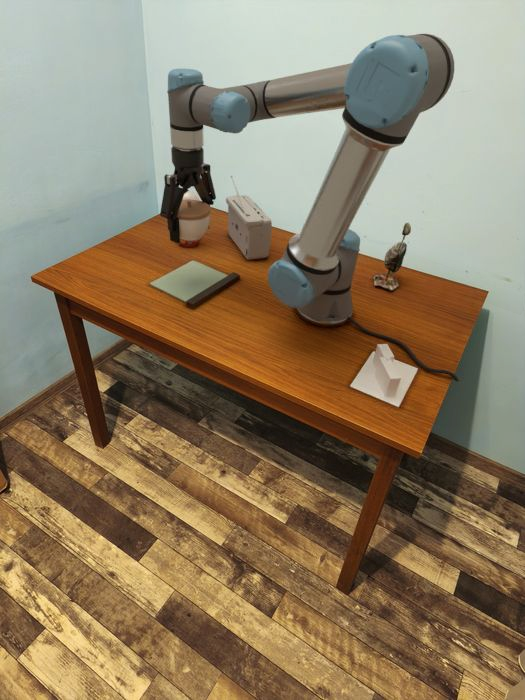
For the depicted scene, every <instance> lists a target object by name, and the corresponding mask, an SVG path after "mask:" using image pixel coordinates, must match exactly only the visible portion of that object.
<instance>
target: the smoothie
mask: <svg viewBox="0 0 525 700" xmlns="http://www.w3.org/2000/svg"><path fill="white" fill-rule="evenodd" d="M186 199H191V200H199V201H201V199H200V197H199V195H198V193H197V192H195V191H194V190H191V189H188V190H187V192H186V193H185V194H184V196H183V199H182V200H186ZM200 239H201V238H200ZM200 239H198V240H195V241H187V240H183V239H181V238H180V243H179V244H180V245H181V246H182V247H185V248H193V247H196V246H197V245H198V244H199V242H200Z"/></svg>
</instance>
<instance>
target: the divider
mask: <svg viewBox="0 0 525 700" xmlns="http://www.w3.org/2000/svg"><path fill="white" fill-rule="evenodd" d="M227 275H228V276H226V277H225V278H223V279H221V280H220V281H218V282H216V283H215V284H213V285H212V286H210V287H208V288H207V289H205V290H203V291H202V292H200V293H198V294H197V295H195V296H194V297H192V298H190V299H189V300H187V301H186V303H185V305H186V307H188V308H190V309H192V310H194V309H196V308H197V307H199V306H201V305H202V304H204V303H205V302H207V301H209V300H210V299H212V298H213V297H215V296H216V295H218V294H219V293H221V292H223V291H224V290H225V289H227V288H229V287H230V286H232V285H234V284H236V283H237V282H238V281H240V280H241V275H240V274H239V273H237V272H235V271H233V272H231V273H229V274H227Z"/></svg>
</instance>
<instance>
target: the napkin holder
mask: <svg viewBox="0 0 525 700" xmlns="http://www.w3.org/2000/svg"><path fill="white" fill-rule="evenodd" d="M393 353H394V352H393V351H392V349H391V348H390V346H389V344H388V343H378V344H377V345H376V349H375V351H374V350H372V352H371V354H370V355H369V356H368V358H367V359H366V361H365V363H364V365H363V366H362V367H361V369H360V370H359V372H358V373H357V375H356V376H355V378H354V379H353V381H352V382H351V384H350V385H349V387H350V388H352V389H355V390H357V391H360V392H362V393H365V394H367V395H369V396H371V397H373V398H376V399H378V400H381V401H383V402H385V403H387V404H390V405H392V406H395V407H397V408H399V407H400V405H401V403H402V402H403V400H404V397H405V396H406V394H407V392H408V390H409V388H410V386H411V384H412V383H413V380H414V378H415V376H416V374H417V373H418V370H419V368H418V367H416V366H413V365H410V364H407V363H405V362H402V361H400V360H398V359H395V355H394V354H393Z"/></svg>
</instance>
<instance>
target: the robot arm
mask: <svg viewBox="0 0 525 700" xmlns="http://www.w3.org/2000/svg"><path fill="white" fill-rule="evenodd" d="M454 75H455V60H454V55H453V52H452V49H451V47H449V45H448V43H446V42H445V40H444V39H442V38H441V37H439V36H436V35H435V34H430V33H418V34H410V35H405V34H394V35H393V34H392V35H388V36H387V35H386V36H385V37H382V38H380V39H377V40H375V41H373V42H371V43H369V44H368V45H366V46H365V47H364V48H363V49H362V50H361V51H360V52H359V53H358V54H357V55H356V56H355V58H354V59H353V61H352V62H350V63H346V64H341V65H336V66H332V67H326V68H321V69H316V70H312V71H307V72H303V73H302V72H301V73H298V74H293V75H288V76H282V77H278V78H274V79H273V78H272V79H268V80H262V81H257V82H253V83H248V84H243V85H235V86H230V87H229V86H228V87H224V88H218V87H213V86H208V85H207V84H204V82H205V81H204V77H203V73H202V72H201V71H199V70H197V69H192V68H174V69H173V68H172V69H171V70H169V72H168V74H167V91H166V93H167V98H168V99H167V100H168V114H169V129H170V130H169V131H170V145H171V148H170V151H171V152H170V153H171V163H172V165H173V167H174V171H173V174H168V173H167V174H165V175H164V188H163V194H162V202H161V206H160V213H159V216H160V217H161V218H164V219H166V220H167V229H168V231H169V241H171V242H173V243H175V244H180V233H179V218H177V217H176V216H177V214H178V211H179V208H180V205H181V202H182V199H183V196H184V194H185V193H186V192H187V190H189V189H190V188H191V187H192V188H194V189H195V191H196V194H197V196H198V198H199V200H200V201H202V202H205V203H207V204H208V205H209V206H210V207H211V206H213V205H214V204H215V202H214V201H216V199H217V196H216V195H217V194H216V191H215V187H214V183H213V179H212V175H211V164H208V163H205V155H204V154H205V153H204V152H205V151H204V148H203V147H204V145H205V138H204V137H205V136H204V126H205V127H209V128H212V129H214V130H218V131H220V132H223V133H228V134H229V133H230V134H240V133H241V132H242V131H243V130H244V129H245V128H246V127H247V125H248V124H249V123H254V122H258V121H263V120H272V119H276V118H277V119H278V118H283V117H284V118H285V117H291V116H299V115H304V114H305V115H306V114H312V113H319V112H328V111H334V110H342V109H343V112H342V114H341V119H342V121H343V123H344V126H345V130H344V131H343V133H342V136H341V138H340V141H339V143H338V145H337V147H336V150H335V152H334V154H333V157H332V159H331V162H330V164H329V166H328V168H327V170H326V173H325V176H324V178H323V180H322V182H321V184H320V187H319V189H318V191H317V194H316V196H315V198H314V200H313V202H312V205H311V207H310V209H309V212H308V215H307V217H306V219H305V222H304V223H303V226H302V228H301V230H300V233H295V234H294V235H293V236H291V238H290V239H289V241H288V243H287V245H286V248H285V250H284V253H283V255H282V257H281V258H280V259H278V260H276V261H274V262H273V263H272V264H271V265H270V267H269V268H268V271H267V283H268V286H269V288H270V290H271V292H272V294H273V296H274V297H275V298H276V299H277V300H278V301H279V302H280V303H281V304H282V305H284V306H286V307H288V308H291V309H295V313H296V314H297V316H298V317H299V318H300V319H301V320H302V321H305V322H306V323H308V324H310V325H313V326H317V327H321V328H337V327H341V326H343V325H345V324H347V323H348V322H350V323H351V324H352V325H354V326H355V327H356V328H357V329H358V330H360V331H362V332H364V333H365V334H367V335H371V336H373V337H377V338H380V339H384V340H386V341H390V342H393V343H395V344H397V345H398V346H399V347H401V348H403V349H404V350H405V351H406V352H407V354H408V355H409V356H410V357H411V359H412V360H413V361H414V362H415V363H416V365H417V366H419V367H421V368H422V369H424V370H425V371H427V372H430V373H435V374H444V375H448V376H450V377H451V378H452V379H453V380H454V381H455V382H460V380H459V378H458V377H457V375H456V374H455V373H453V372H452V371H450V370H446V369H437V368H432V367H429V366H427V365H426V364H425V363H423V362H421V361H420V360H419V359H418V357H417V356H416V355H415V354H414V352H412V350H411V349H410V348H409V347H408V346H407V345H406V344H405V343H403V342H402V341H400V340H398V339H396V338H394V337H391V336H387V335H385V334H380V333H377V332H374V331H371V330H368V329H367V328H365V327H363V326H362V325H360V324H359V322H358V321H355V319H353V318H352V317H353V313H354V303H353V298H352V292H351V291H352V290H351V289H352V284H353V279H354V275H355V270H356V266H357V261H358V257H359V252H360V250H361V249H360V246H361V237H360V236H359V235H358V233H356V232H355V230H354V231H353V230H352V229H350V228H351V225H352V224H353V221H354V219H355V217H356V215H357V213H358V211H359V210H360V208H361V206H362V204H363V202H364V200H365V199H366V196H367V194H368V193H369V190H370V189H371V187H372V185H373V183H374V181H375V179H376V177H377V175H378V174H379V171H380V170H381V168H382V166H383V164H384V162H385V161H386V158H387V156H388V154H389V152H390V150H391V149H393V148H396V147H399V146H403V144H404V143H405V141H406V139H407V138H408V136H409V134H410V132H411V130H412V128H413V127H414V125H415V123H416V121H417V119H418V117H419V116H420V114H421V113H424V112H426V111H429V110H430V109H432V108H433V107H435V106H436V105H437V104H438V103H440V102H441V101H442V99H443V98H445V96H446V94H447V93H448V91H449V90H450V88H451V86H452V83H453V79H454ZM209 229H210V226H209V227H208V229H207V230H209Z"/></svg>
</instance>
